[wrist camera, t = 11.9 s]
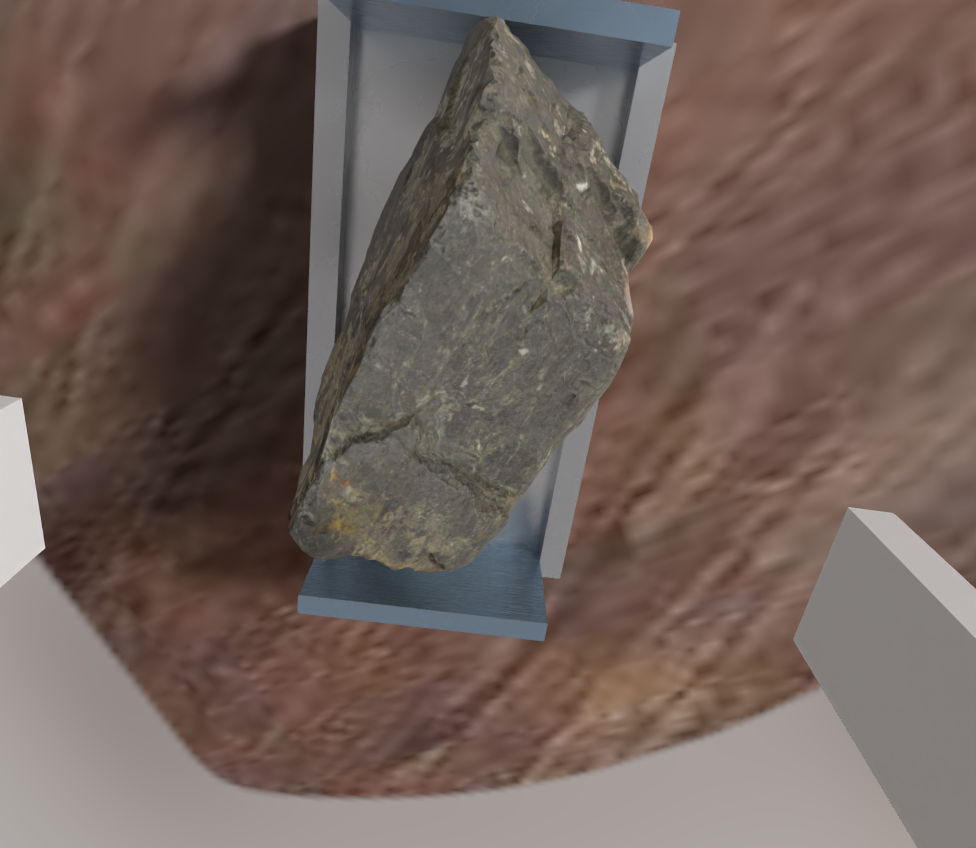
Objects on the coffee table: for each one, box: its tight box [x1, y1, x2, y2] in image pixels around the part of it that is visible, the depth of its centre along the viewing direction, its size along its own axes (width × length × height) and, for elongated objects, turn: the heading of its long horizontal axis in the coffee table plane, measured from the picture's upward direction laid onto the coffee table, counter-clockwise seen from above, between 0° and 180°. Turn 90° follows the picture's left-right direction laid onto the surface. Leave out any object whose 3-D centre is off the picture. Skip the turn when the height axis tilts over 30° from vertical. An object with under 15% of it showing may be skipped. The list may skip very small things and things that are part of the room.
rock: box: [289, 16, 653, 573], centre depth 20 cm, size 17×7×10 cm
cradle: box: [298, 0, 680, 641], centre depth 23 cm, size 20×11×7 cm, turn 172°
